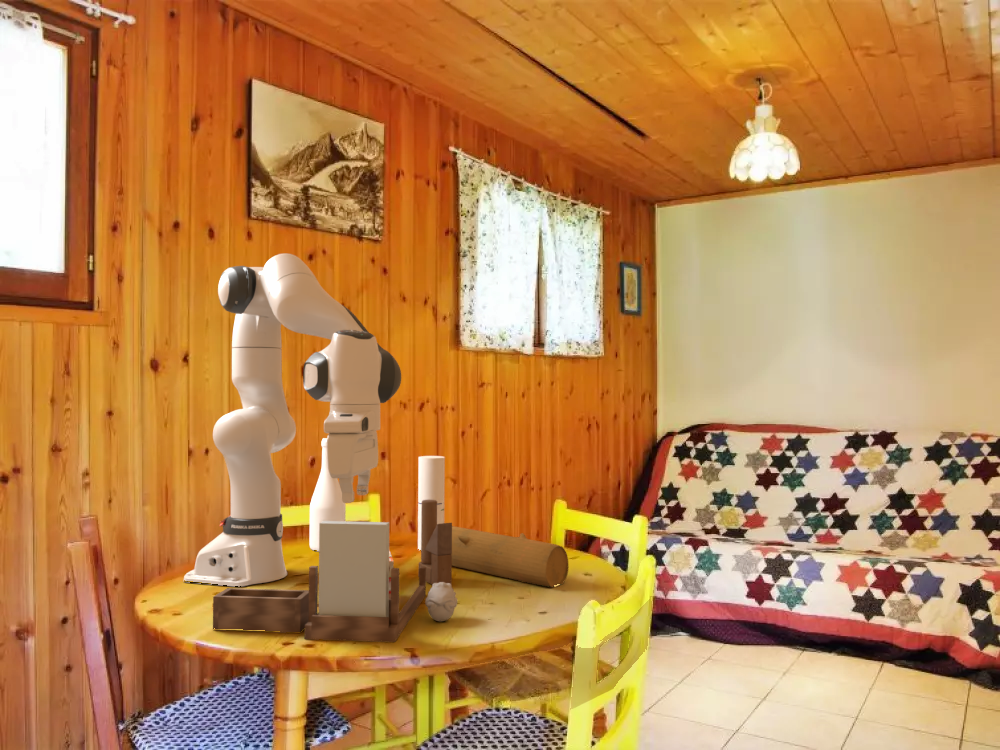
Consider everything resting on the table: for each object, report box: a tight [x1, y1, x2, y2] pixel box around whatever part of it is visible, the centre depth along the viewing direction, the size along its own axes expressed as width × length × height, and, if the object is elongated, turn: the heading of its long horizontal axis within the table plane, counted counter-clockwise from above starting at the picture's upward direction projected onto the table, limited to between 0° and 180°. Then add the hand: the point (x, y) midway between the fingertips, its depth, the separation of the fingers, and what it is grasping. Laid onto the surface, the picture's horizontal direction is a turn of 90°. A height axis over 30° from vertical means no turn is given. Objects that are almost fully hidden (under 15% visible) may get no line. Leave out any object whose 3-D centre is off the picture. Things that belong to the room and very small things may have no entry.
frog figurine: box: [424, 582, 458, 622], centre depth 145 cm, size 6×7×7 cm
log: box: [451, 525, 569, 588], centre depth 182 cm, size 38×10×10 cm, turn 49°
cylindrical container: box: [417, 455, 446, 551], centre depth 209 cm, size 7×7×25 cm
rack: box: [304, 565, 427, 643], centre depth 148 cm, size 16×30×12 cm, turn 175°
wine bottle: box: [308, 437, 347, 552], centre depth 208 cm, size 10×10×30 cm
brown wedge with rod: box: [418, 500, 453, 586], centre depth 173 cm, size 4×11×18 cm, turn 29°
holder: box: [212, 587, 309, 633], centre depth 140 cm, size 16×6×6 cm, turn 85°
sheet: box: [318, 520, 390, 617], centre depth 136 cm, size 12×2×20 cm, turn 85°
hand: (355, 498), depth 136 cm, fingers open, 8 cm apart
